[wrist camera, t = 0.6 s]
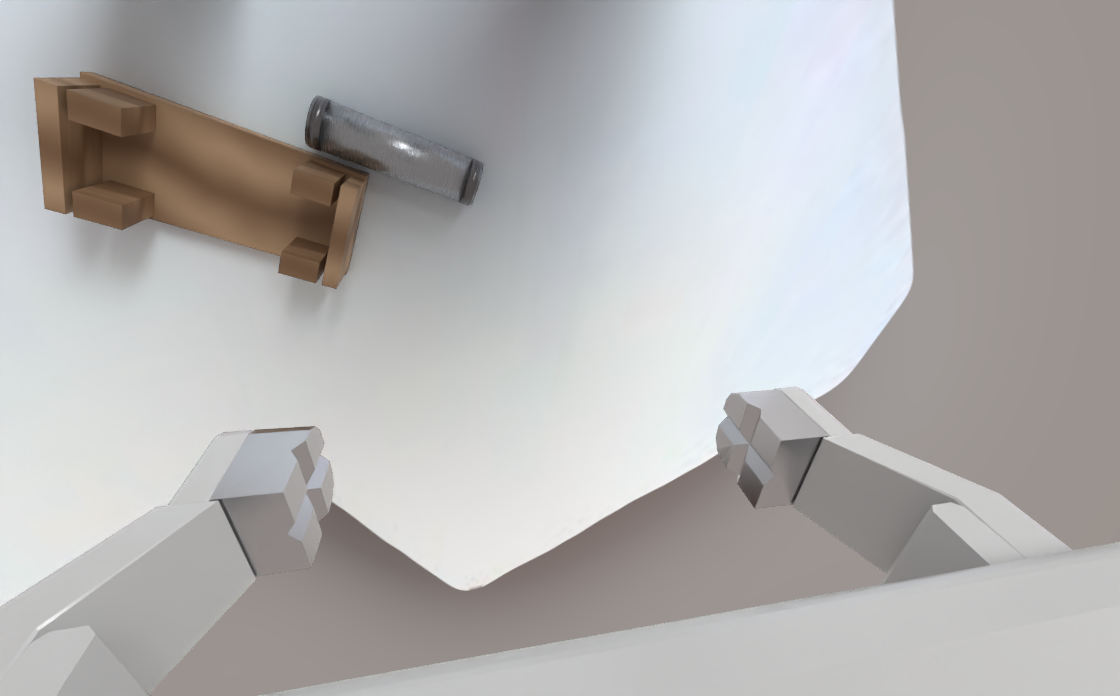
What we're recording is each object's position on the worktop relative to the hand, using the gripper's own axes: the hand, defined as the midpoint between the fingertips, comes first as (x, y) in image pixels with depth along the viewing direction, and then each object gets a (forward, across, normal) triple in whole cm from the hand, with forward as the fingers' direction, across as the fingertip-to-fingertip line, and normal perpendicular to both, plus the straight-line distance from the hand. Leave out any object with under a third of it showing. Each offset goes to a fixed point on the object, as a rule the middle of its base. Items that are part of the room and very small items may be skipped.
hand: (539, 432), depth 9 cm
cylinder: (+40, +7, 0) cm, 40 cm away
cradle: (+40, +21, +3) cm, 45 cm away
